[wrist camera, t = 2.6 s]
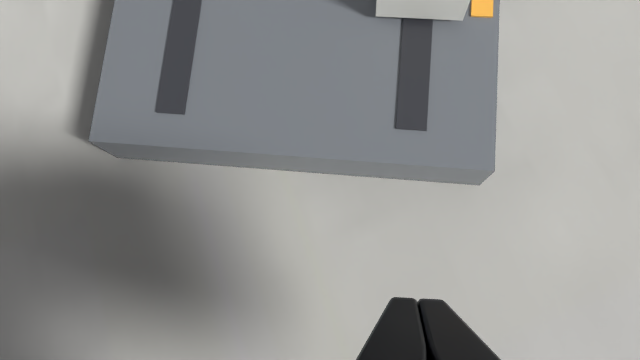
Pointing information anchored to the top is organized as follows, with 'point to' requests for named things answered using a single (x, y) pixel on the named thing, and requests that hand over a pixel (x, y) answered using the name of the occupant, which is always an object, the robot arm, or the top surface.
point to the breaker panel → (301, 88)
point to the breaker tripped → (423, 9)
